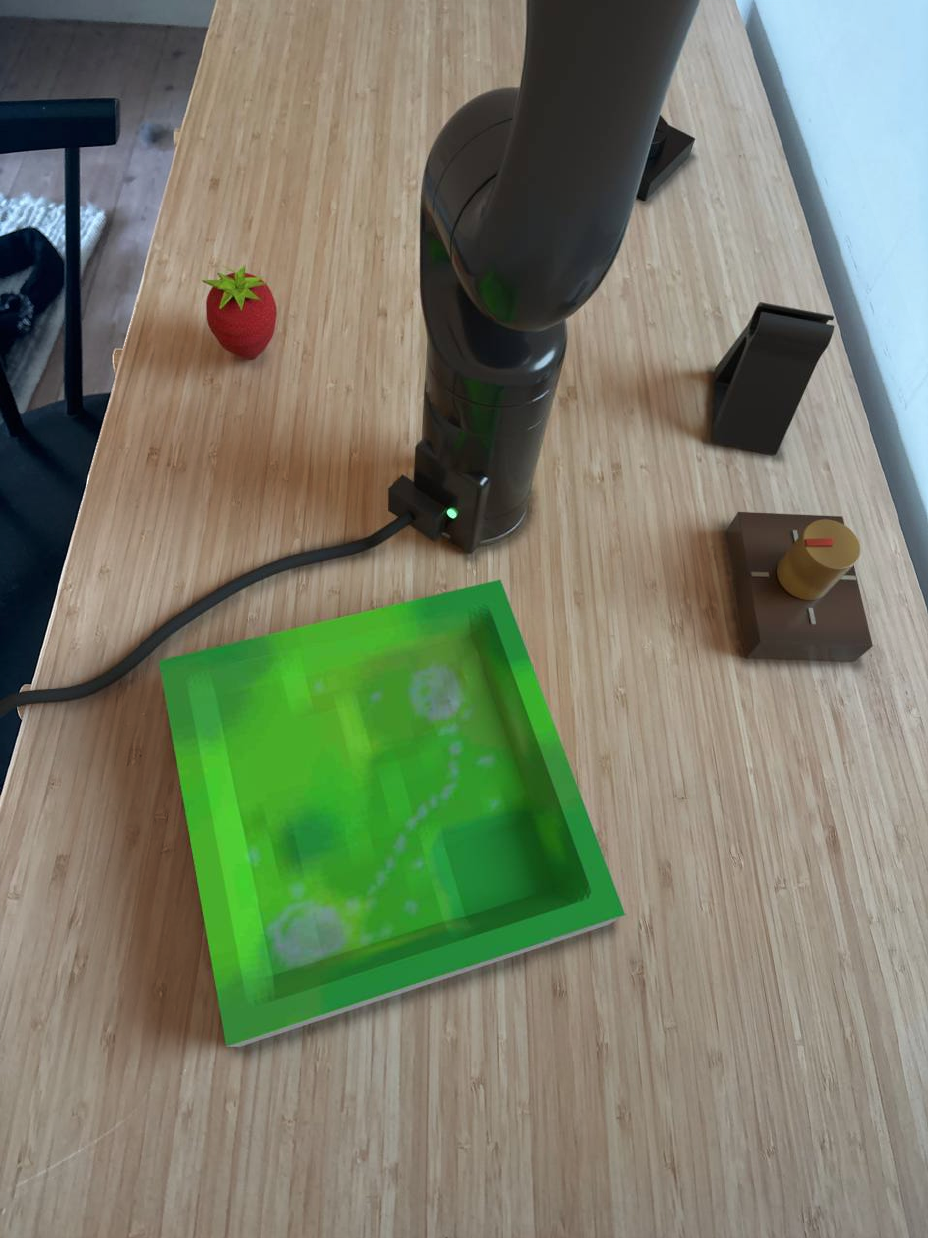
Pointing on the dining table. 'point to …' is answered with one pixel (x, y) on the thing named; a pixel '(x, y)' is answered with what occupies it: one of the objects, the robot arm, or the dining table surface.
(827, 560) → the lock knob
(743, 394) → the phone stand
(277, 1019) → the tray
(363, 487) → the dining table surface
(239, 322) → the strawberry
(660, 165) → the button block
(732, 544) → the lock plate
